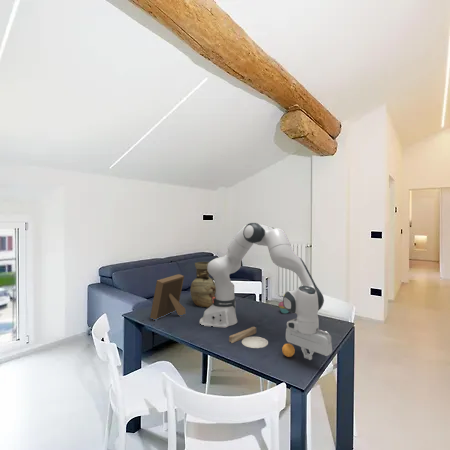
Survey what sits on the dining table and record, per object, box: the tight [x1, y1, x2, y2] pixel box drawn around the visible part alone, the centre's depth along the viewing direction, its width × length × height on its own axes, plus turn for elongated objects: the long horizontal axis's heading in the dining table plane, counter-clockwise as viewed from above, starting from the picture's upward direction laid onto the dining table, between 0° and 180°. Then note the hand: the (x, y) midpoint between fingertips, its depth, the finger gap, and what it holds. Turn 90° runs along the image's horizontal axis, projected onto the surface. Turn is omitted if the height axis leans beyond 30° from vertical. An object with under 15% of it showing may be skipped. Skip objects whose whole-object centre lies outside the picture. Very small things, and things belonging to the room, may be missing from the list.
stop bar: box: [228, 326, 257, 344], centre depth 149 cm, size 2×18×3 cm, turn 133°
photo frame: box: [149, 273, 186, 319], centre depth 182 cm, size 15×22×25 cm
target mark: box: [241, 336, 269, 349], centre depth 143 cm, size 13×13×1 cm
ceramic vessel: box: [189, 261, 216, 309], centre depth 207 cm, size 19×21×30 cm
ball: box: [281, 343, 296, 358], centre depth 128 cm, size 6×6×6 cm
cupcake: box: [277, 293, 290, 314], centre depth 188 cm, size 9×8×12 cm
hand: (308, 358), depth 121 cm, fingers closed
